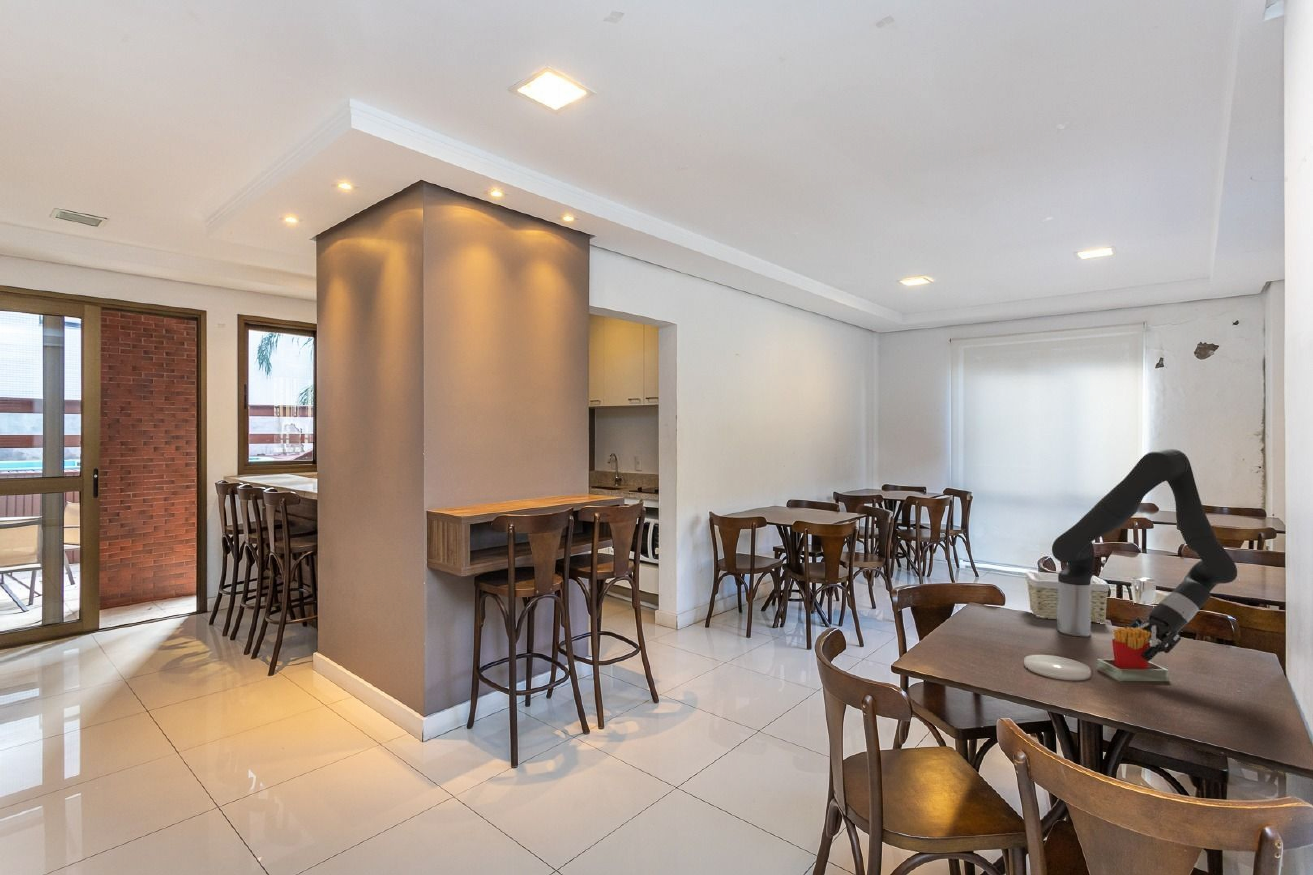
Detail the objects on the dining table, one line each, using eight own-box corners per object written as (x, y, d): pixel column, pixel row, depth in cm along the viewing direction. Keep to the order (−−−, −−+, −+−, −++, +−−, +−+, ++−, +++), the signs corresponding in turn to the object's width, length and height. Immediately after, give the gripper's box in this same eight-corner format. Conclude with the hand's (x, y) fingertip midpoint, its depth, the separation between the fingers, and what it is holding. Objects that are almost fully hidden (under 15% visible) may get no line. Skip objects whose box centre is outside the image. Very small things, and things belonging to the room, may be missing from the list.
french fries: (1118, 677, 172) (1118, 630, 172) (1109, 671, 176) (1109, 625, 176) (1155, 678, 170) (1154, 631, 170) (1145, 672, 175) (1144, 627, 175)
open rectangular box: (1096, 669, 177) (1096, 658, 177) (1144, 669, 177) (1144, 658, 177) (1118, 680, 169) (1118, 669, 169) (1169, 681, 169) (1169, 670, 169)
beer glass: (1127, 618, 227) (1126, 577, 228) (1139, 616, 230) (1139, 576, 230) (1147, 623, 221) (1147, 581, 221) (1160, 621, 223) (1160, 580, 223)
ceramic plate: (1012, 659, 185) (1012, 654, 185) (1066, 659, 185) (1066, 654, 185) (1045, 680, 169) (1045, 674, 169) (1104, 680, 169) (1104, 674, 169)
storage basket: (1033, 618, 228) (1032, 578, 228) (1024, 607, 243) (1024, 570, 243) (1110, 625, 219) (1110, 584, 219) (1096, 613, 234) (1096, 575, 234)
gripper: (1144, 596, 180) (1104, 635, 180) (1185, 609, 166) (1142, 652, 166) (1162, 614, 180) (1123, 653, 180) (1205, 629, 166) (1162, 672, 166)
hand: (1132, 653), depth 173 cm, fingers open, 8 cm apart
